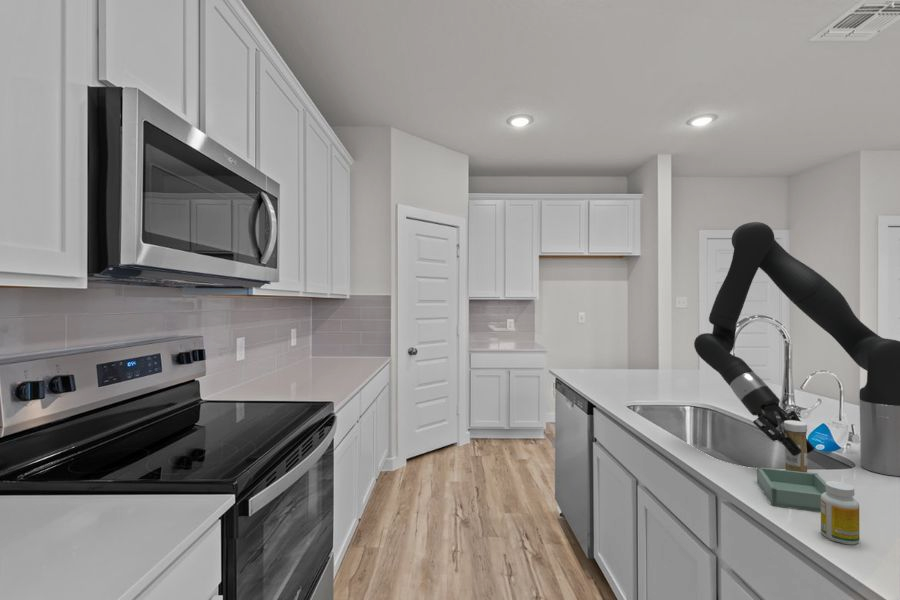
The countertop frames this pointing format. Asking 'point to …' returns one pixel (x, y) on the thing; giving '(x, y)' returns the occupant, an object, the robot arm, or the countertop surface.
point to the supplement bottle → (840, 513)
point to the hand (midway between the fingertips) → (804, 452)
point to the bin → (792, 488)
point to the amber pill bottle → (798, 435)
